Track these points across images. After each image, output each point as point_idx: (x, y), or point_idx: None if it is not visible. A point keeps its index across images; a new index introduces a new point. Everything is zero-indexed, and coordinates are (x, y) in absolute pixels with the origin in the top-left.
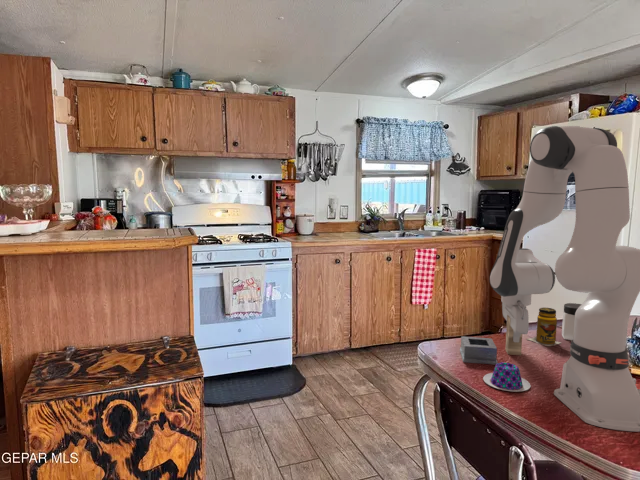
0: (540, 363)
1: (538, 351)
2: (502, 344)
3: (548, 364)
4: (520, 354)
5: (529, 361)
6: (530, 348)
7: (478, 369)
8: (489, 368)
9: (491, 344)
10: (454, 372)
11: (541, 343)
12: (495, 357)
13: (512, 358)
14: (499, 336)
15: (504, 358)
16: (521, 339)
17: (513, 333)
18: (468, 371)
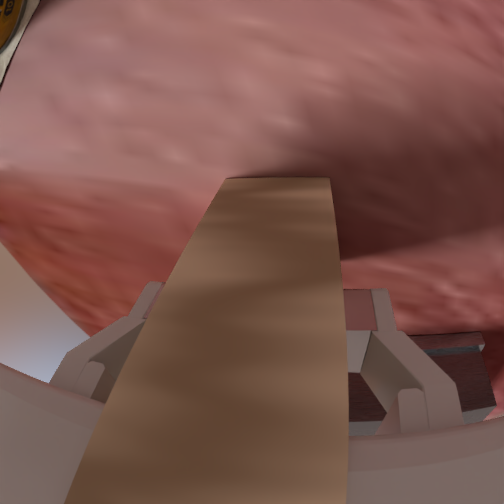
0: (477, 84)
1: (178, 21)
2: (132, 256)
3: (483, 33)
4: (330, 185)
5: (451, 152)
6: (127, 79)
7: (496, 379)
8: (501, 355)
9: None
10: (492, 414)
11: (18, 22)
12: (481, 366)
13: (403, 251)
14: (24, 245)
15: (404, 293)
16: (338, 266)
17: (389, 408)
18: (499, 395)
